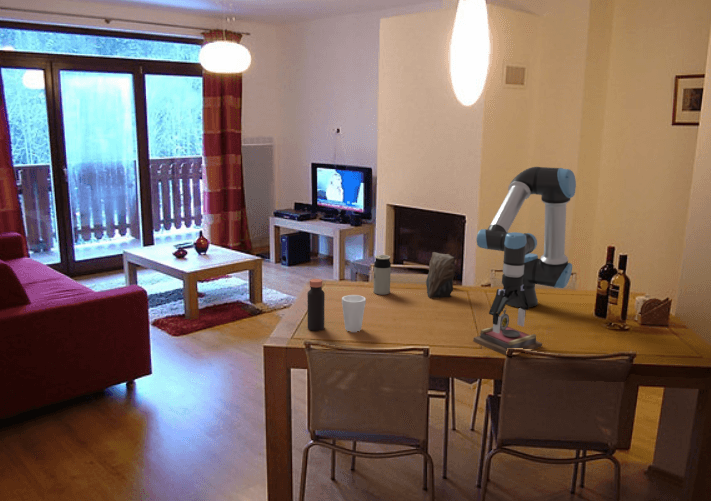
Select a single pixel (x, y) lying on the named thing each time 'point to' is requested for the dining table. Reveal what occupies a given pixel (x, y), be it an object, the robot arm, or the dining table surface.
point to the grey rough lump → (440, 275)
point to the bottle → (316, 305)
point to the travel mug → (382, 274)
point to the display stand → (506, 340)
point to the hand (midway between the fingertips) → (508, 328)
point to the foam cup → (353, 312)
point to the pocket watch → (505, 323)
